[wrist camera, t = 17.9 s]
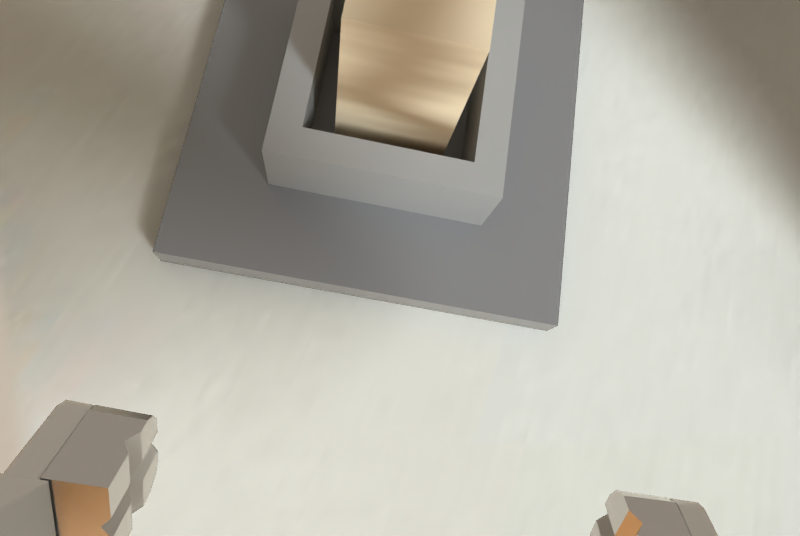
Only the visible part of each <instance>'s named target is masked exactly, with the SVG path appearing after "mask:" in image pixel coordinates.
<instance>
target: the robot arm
mask: <svg viewBox="0 0 800 536" xmlns="http://www.w3.org/2000/svg"><path fill="white" fill-rule="evenodd" d="M157 432H158V431H157V418H156V417H154V416H152V415H147V414H141V413H136V412H131V411H125V410H120V409H115V408H109V407H104V406H99V405H91V404H85V403H80V402H75V401H69V400H65V401H64V402H62V403H60V404H59V405H57V406H56V407H55V409H54V410H53V411H52V412H51V414H50V415H49V416H48V418H47V419H46V420H45V421H44V423H43V424H42V425H41V426H40V428H39V429H38V430H37V431H36V433H35V434H34V435H33V437H32V438H31V439H30V440H29V442H28V443H27V444H26V445H25V447H24V448H23V449H22V450H21V452H20V453H19V454H18V456H17V457H16V458H15V459H14V461H13V462H12V463H11V464H10V466H9V467H8V468H7V469H6V471H5V472H4V473H3V474H1V473H0V536H129V534H130V532H131V530H132V513H134V512H135V511H137V510H138V509H140V508H141V507H143V506H144V504H145V502H146V500H147V498H148V496H149V493H150V491H151V488H152V485H153V482H154V479H155V475H156V470H157V463H158V450H157V449H156V448H155V447H154V446H153V444H152V442H153V440H154V438H155V436H156V434H157ZM605 506H606V509H607V512H608V514H607V515H605V516H603V517H601V518H600V519H598V520H596V522H595V524H594V526H593V529H592V531H591V533H590V536H718V535H717V533H716V531H715V529H714V527H713V525H712V523H711V521H710V519H709V517H708V515H707V513H706V511H705V509H704V508H703V507H702V506H701V505H700V504H699V503H696V502H690V501H683V500H677V499H668V498H665V497H658V496H651V495H645V494H638V493H632V492H625V491H618V490H616V491H614V492H613V493H611V494H610V495H609V497H608V499H607V501H606V503H605Z"/></svg>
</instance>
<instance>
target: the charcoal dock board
mask: <svg viewBox="0 0 800 536" xmlns="http://www.w3.org/2000/svg"><path fill="white" fill-rule="evenodd" d="M344 3H345V0H225V3H224V6H223V10H222V13H221V17H220V20H219V23H218V27H217V30H216V34H215V37H214V41H213V44H212V48H211V51H210V55H209V58H208V62H207V65H206V69H205V72H204V76H203V79H202V83H201V86H200V90H199V93H198V97H197V100H196V103H195V107H194V110H193V114H192V117H191V121H190V124H189V128H188V131H187V135H186V138H185V142H184V145H183V149H182V152H181V156H180V159H179V163H178V166H177V170H176V173H175V176H174V180H173V183H172V187H171V190H170V194H169V197H168V201H167V204H166V208H165V211H164V215H163V218H162V222H161V225H160V229H159V232H158V236H157V239H156V243H155V246H154V249H153V252H154V254H155V255H156V256H157V257H158V258H159V259H160V260H161V261H166V262H171V263H177V264H182V265H188V266H193V267H199V268H204V269H210V270H215V271H221V272H226V273H232V274H237V275H243V276H248V277H254V278H259V279H265V280H270V281H276V282H281V283H287V284H292V285H298V286H303V287H309V288H314V289H320V290H325V291H331V292H336V293H342V294H347V295H353V296H358V297H364V298H369V299H375V300H380V301H386V302H391V303H397V304H402V305H408V306H413V307H419V308H424V309H430V310H435V311H441V312H446V313H452V314H457V315H463V316H468V317H474V318H479V319H485V320H490V321H496V322H501V323H507V324H512V325H518V326H523V327H529V328H534V329H540V330H545V331H547V330H550V329H552V328H554V327H556V326H558V318H559V305H560V292H561V280H562V267H563V255H564V242H565V230H566V217H567V204H568V192H569V179H570V167H571V154H572V142H573V129H574V116H575V104H576V91H577V79H578V66H579V54H580V41H581V28H582V16H583V3H584V0H496V8H495V15H494V23H493V30H492V38H491V46H490V51H489V53H488V56H487V58H486V60H485V62H484V65H483V67H482V69H481V71H480V73H479V76H478V78H477V80H476V82H475V85H474V87H473V89H472V91H471V93H470V96H469V98H468V100H467V102H466V105H465V107H464V109H463V111H462V114H461V116H460V118H459V120H458V122H457V125H456V127H455V129H454V131H453V134H452V136H451V138H450V140H449V142H448V145H447V147H446V149H445V151H444V154H443V156H442V155H437V154H432V153H427V152H422V151H417V150H413V149H408V148H403V147H398V146H393V145H388V144H383V143H378V142H373V141H369V140H364V139H359V138H354V137H349V136H344V135H339V134H335V119H336V102H337V85H338V67H339V50H340V33H341V17H342V12H343V8H344Z"/></svg>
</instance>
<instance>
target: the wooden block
mask: <svg viewBox="0 0 800 536" xmlns="http://www.w3.org/2000/svg"><path fill="white" fill-rule="evenodd" d="M495 8H496V0H345V3H344V8H343V12H342V17H341V33H340V50H339V67H338V85H337V102H336V119H335V134H339V135H344V136H349V137H354V138H359V139H364V140H369V141H373V142H378V143H383V144H388V145H393V146H398V147H403V148H408V149H413V150H417V151H422V152H427V153H432V154H437V155H442V156H443V154H444V151H445V149H446V147H447V145H448V142H449V140H450V138H451V136H452V134H453V131H454V129H455V127H456V125H457V122H458V120H459V118H460V116H461V114H462V111H463V109H464V107H465V105H466V102H467V100H468V98H469V96H470V93H471V91H472V89H473V87H474V85H475V82H476V80H477V78H478V76H479V73H480V71H481V69H482V67H483V65H484V62H485V60H486V58H487V56H488V53H489V51H490V46H491V38H492V30H493V23H494V15H495Z"/></svg>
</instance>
